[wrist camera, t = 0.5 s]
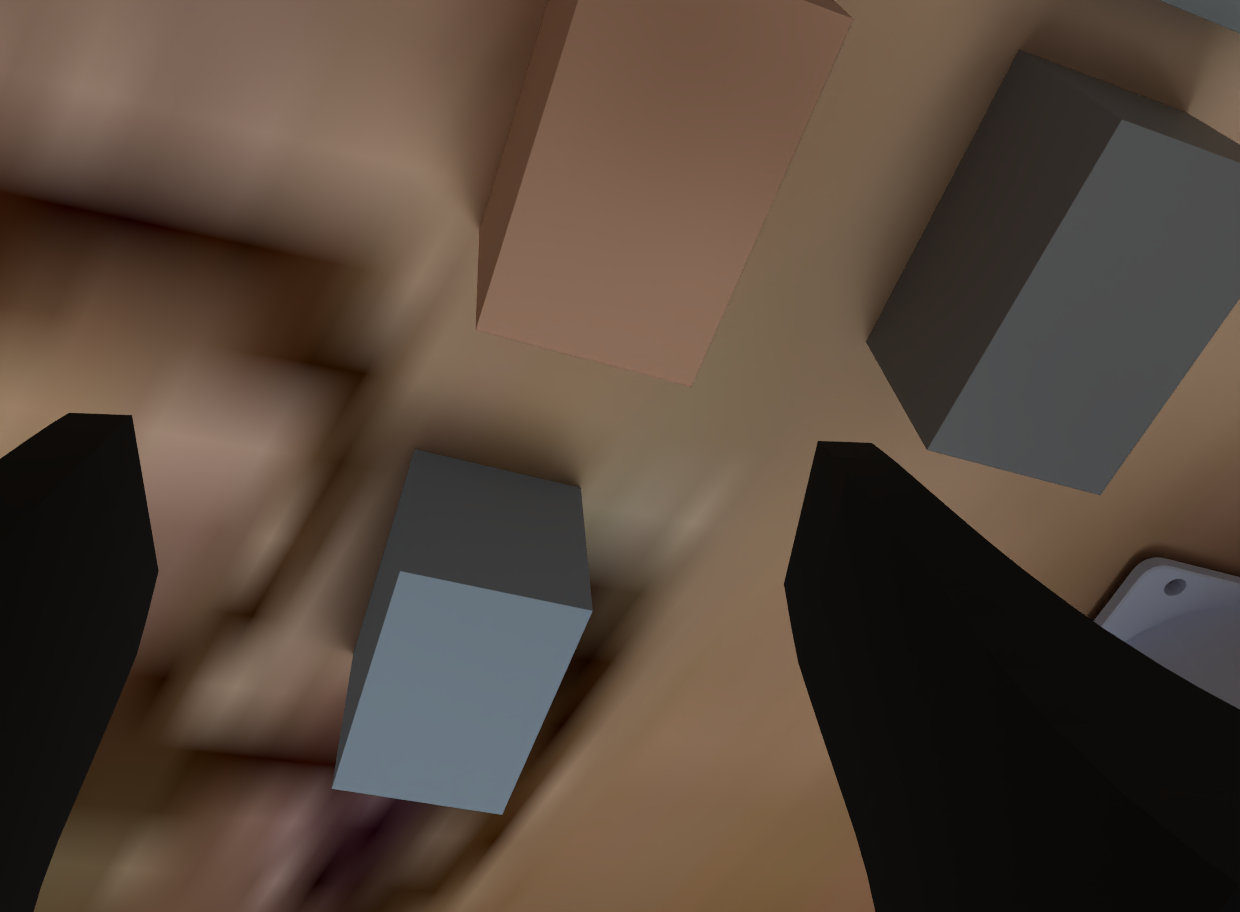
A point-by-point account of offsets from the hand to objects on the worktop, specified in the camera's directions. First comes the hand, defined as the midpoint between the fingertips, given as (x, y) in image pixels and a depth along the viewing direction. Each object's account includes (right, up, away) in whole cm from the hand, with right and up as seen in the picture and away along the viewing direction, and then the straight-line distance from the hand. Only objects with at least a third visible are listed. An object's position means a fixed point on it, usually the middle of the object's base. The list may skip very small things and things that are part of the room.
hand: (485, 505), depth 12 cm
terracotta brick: (+2, +7, +7) cm, 10 cm away
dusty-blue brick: (-2, -2, +13) cm, 13 cm away
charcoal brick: (+9, +5, +9) cm, 14 cm away
